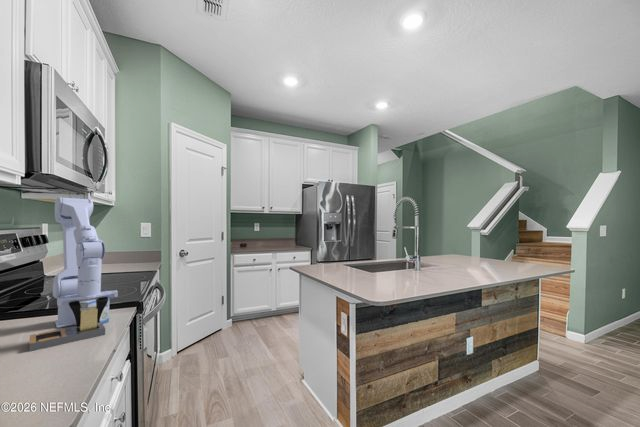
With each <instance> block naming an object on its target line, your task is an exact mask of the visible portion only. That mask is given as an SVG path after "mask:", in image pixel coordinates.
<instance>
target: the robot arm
mask: <svg viewBox="0 0 640 427" xmlns="http://www.w3.org/2000/svg"><path fill="white" fill-rule="evenodd" d="M93 212H94V202H93V200H92V199H91V198H76V197H61V196H58V197H57V198H55V201H54V219H55V222H56V223H58V224H61V228H62V241H63V270H61V271H60V272H58V273H57V274H56V275H54V277H53V282H52V296H53V297H54V298H55V299H56V305H57V319H55V320H54V323H55V327H56V328H57V329H61V328H64V327H70V326H74V325H75V327H80V308H81V305H80V302H82V301H89V300H96V307H97V308H98V313H97V323H99V321H100V317H101V314H102V312H103V310H104V308H105V306H106V304H107V302H108V298H117V297H118V296H119V295H118V292H119V291H118V290H117V289H116V290H115V289H114V290H104V291H101V290H102V288H101V287H102V264H103V263H102V261H103V259H104V258H105V255H106V245H105V241H103V240H102V239H99V236H98V233H97V230H96V228H95V226H93V225H91V224H90V217H91V216H92V214H93Z"/></svg>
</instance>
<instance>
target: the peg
mask: <svg viewBox="0 0 640 427" xmlns="http://www.w3.org/2000/svg"><path fill="white" fill-rule="evenodd" d="M97 313H98V308H97V307H96V306H93V307H87V308H80V327H79V332H82V331H87V330H92V329H97Z"/></svg>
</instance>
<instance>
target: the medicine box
mask: <svg viewBox="0 0 640 427" xmlns="http://www.w3.org/2000/svg"><path fill="white" fill-rule="evenodd" d="M110 298H111V297H110ZM110 298H108V302H107V304H106V306H105V308H104V310H103V312H102V314H101V317H100V321H99V322H101V323H102V324H103V325H104V324H106V323H108V322H109V321H110V301H111V300H110ZM80 305H81V308H87V307H93V306H96V300H89V301H82V302H80Z"/></svg>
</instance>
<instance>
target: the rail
mask: <svg viewBox="0 0 640 427" xmlns="http://www.w3.org/2000/svg"><path fill="white" fill-rule="evenodd" d="M105 335H106V326H104V323H103V324H102V323H101V322H99V323H97V329H92V330H87V331H82V332H79V327H77V326H74V327H69V328H59V329H56V330H55V329H54V330H50V331H49V330H48V331H44V332H39V333H38V334H35V333H34V334H30V335H29V344H28V345H29V346H28V347H29V352H32V351H36V350H42V349H47V348H50V347H54V346H55V347H56V346H60V345H64V344H69V343H74V342H78V341H83V340H87V339H91V338H95V337H100V336H105Z"/></svg>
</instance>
